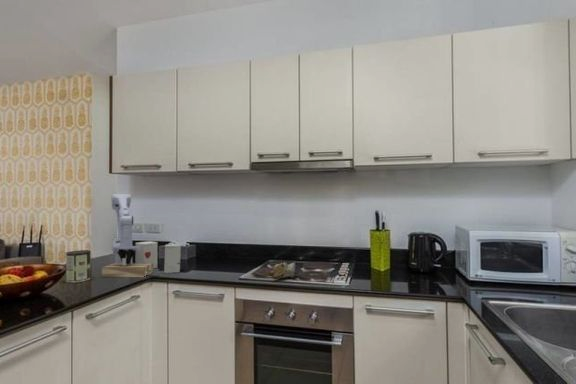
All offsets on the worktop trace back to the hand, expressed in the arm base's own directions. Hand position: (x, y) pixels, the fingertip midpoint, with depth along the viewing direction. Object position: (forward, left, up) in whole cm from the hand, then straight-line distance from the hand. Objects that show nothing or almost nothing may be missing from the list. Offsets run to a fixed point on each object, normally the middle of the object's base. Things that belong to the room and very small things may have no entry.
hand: (126, 263), depth 173 cm
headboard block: (0, +1, -6) cm, 6 cm away
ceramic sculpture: (+6, +83, -6) cm, 83 cm away
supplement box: (-16, +3, -6) cm, 18 cm away
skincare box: (-7, +22, -6) cm, 24 cm away
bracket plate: (0, 0, -5) cm, 5 cm away
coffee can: (+12, -18, -6) cm, 22 cm away
